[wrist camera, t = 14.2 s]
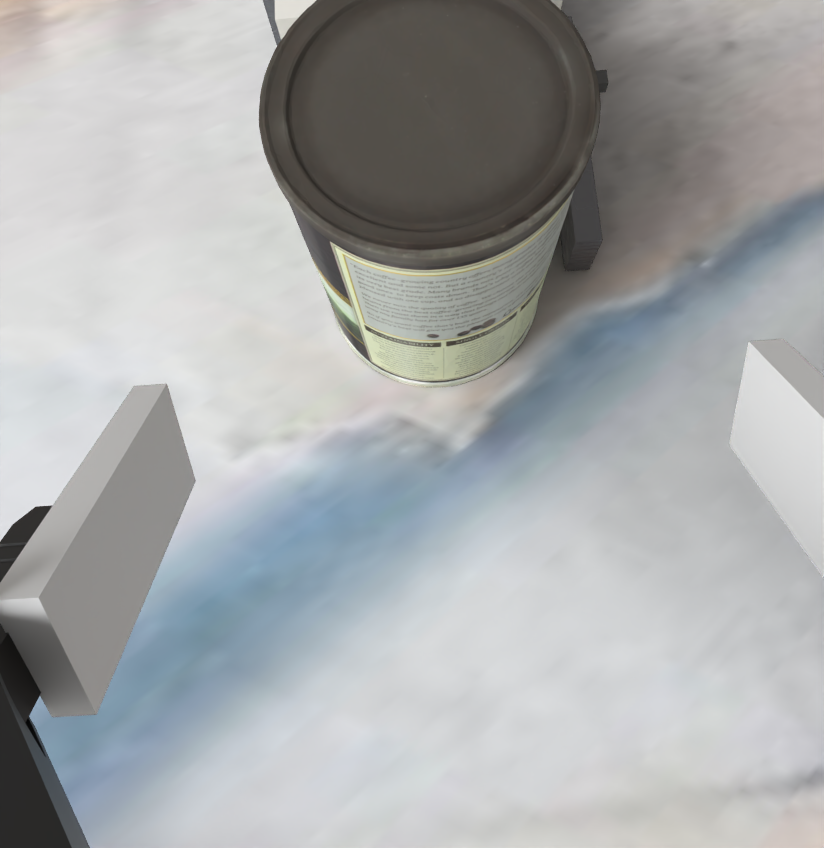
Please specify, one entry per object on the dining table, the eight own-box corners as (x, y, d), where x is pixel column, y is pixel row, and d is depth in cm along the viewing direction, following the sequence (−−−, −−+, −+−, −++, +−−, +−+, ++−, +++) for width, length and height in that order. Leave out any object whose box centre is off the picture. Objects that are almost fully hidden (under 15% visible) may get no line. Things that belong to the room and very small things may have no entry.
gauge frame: (590, 269, 35) (654, 126, 24) (295, 292, 35) (229, 163, 24) (552, -17, 39) (593, -250, 28) (287, 7, 39) (227, -212, 28)
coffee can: (289, 312, 35) (187, 134, 21) (414, 161, 37) (395, -95, 23) (457, 433, 33) (464, 324, 19) (581, 269, 35) (669, 61, 21)
